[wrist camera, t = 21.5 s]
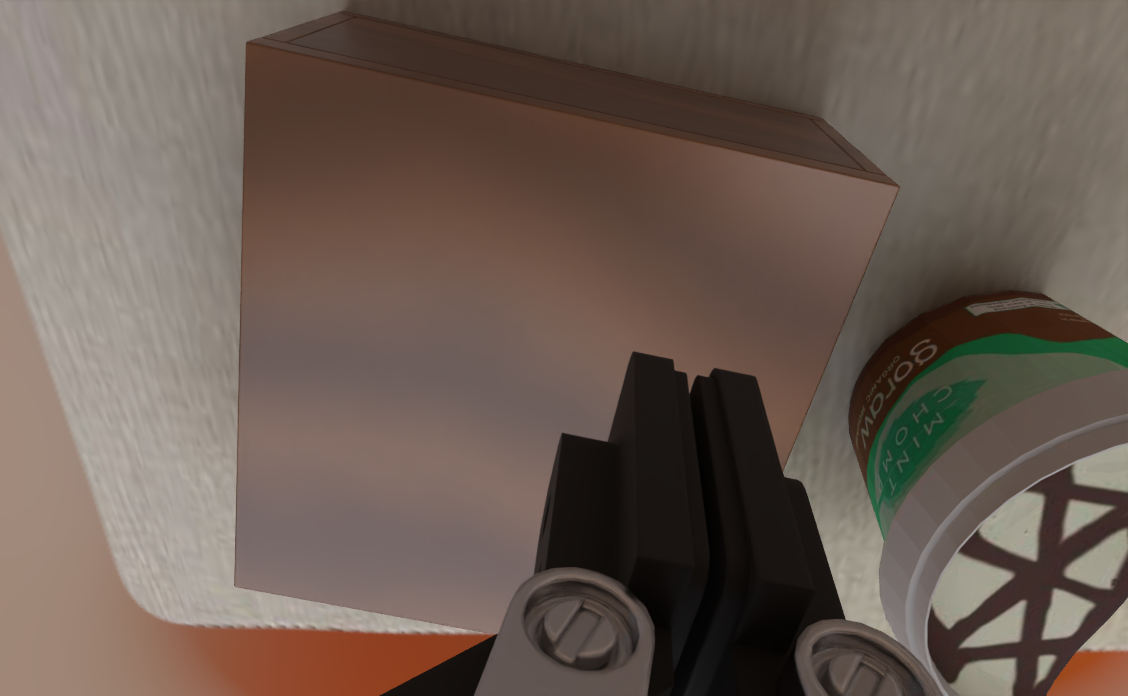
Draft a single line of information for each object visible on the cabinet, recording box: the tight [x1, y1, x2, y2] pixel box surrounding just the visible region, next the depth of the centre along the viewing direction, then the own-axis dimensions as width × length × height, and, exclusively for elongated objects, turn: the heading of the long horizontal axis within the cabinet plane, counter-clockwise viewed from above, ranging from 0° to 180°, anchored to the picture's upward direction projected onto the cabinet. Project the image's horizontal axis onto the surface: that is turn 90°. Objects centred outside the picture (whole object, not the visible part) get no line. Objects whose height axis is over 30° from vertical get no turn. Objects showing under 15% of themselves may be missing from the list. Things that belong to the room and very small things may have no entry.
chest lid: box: [234, 38, 900, 635], centre depth 23 cm, size 17×15×1 cm
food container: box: [848, 291, 1128, 696], centre depth 25 cm, size 12×6×10 cm, turn 169°
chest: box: [261, 11, 887, 176], centre depth 26 cm, size 16×15×7 cm
